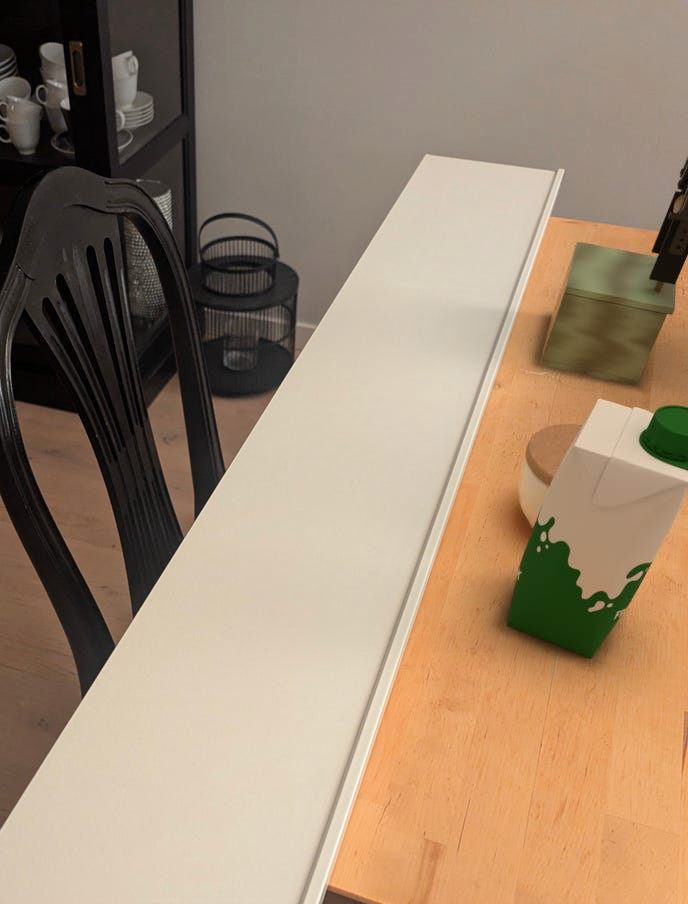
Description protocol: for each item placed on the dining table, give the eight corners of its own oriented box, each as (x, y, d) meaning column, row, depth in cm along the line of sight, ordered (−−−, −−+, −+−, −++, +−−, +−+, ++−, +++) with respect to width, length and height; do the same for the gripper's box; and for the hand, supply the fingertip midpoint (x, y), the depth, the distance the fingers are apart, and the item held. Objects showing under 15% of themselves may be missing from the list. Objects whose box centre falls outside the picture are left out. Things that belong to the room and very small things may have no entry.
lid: (674, 267, 108) (708, 187, 101) (672, 315, 99) (709, 230, 92) (574, 247, 110) (601, 168, 104) (564, 293, 101) (592, 209, 95)
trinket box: (622, 573, 82) (665, 488, 75) (501, 548, 83) (533, 463, 76) (617, 503, 89) (655, 420, 82) (505, 482, 90) (535, 398, 84)
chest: (640, 335, 114) (669, 266, 108) (635, 386, 105) (667, 314, 99) (551, 316, 116) (574, 248, 110) (539, 364, 107) (563, 293, 101)
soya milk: (599, 670, 73) (711, 463, 59) (490, 627, 76) (571, 419, 62) (623, 606, 79) (730, 402, 64) (520, 568, 81) (601, 364, 67)
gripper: (719, -2, 93) (632, 228, 109) (723, 43, 80) (623, 296, 96) (798, 9, 91) (698, 240, 108) (815, 56, 78) (698, 311, 94)
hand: (663, 266), depth 102 cm, fingers closed on lid, 7 cm apart
